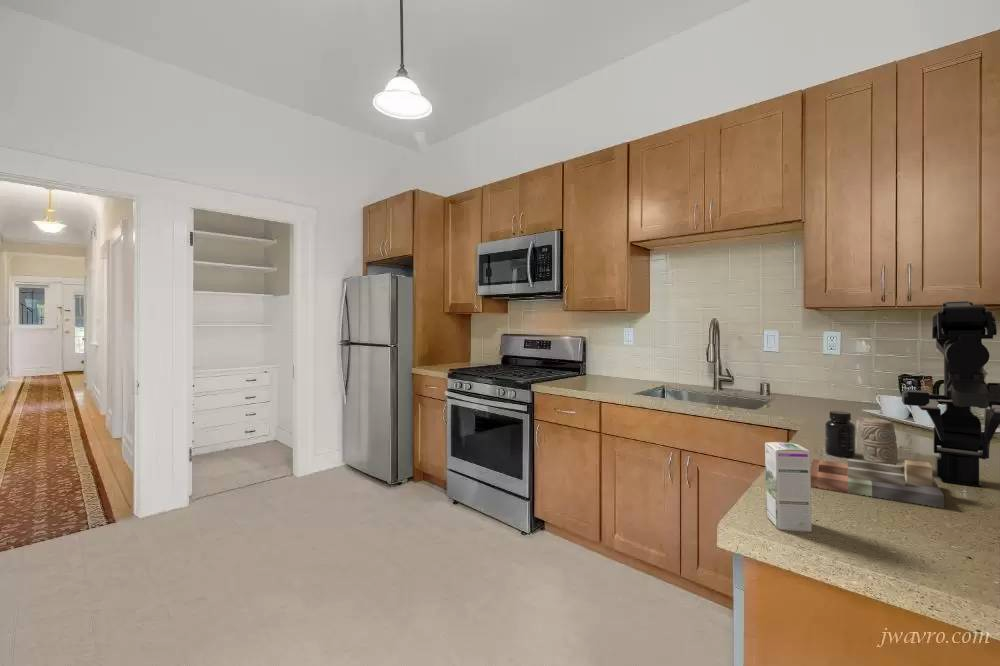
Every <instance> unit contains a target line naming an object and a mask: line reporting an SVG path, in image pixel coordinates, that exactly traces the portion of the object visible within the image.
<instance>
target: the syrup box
mask: <svg viewBox="0 0 1000 666" xmlns="http://www.w3.org/2000/svg"><path fill="white" fill-rule="evenodd" d="M764 448H765V449H764V454H765V455H764V459H765V461H764V462H765V463H764V466H765V467H764V468H765V506H766V507H765V510H766V512H765V513H766V515H765V516H766V518H767V519H768V520H769V521H770V523H772V524H773V525H774V526H775V527H774V528H776V529H777V530H781V531H787V532H788V531H789V532H790V531H791V532H806V533H807V532H809V533H810V532H811V533H812V527H813V526H812V523H813V522H812V487H811V477H810V470H811V451H810V450H809V449H806V448H805V447H803V446H801V445H800V444H798V443H795V442H786V441H785V442H784V441H774V442H772V441H769V442H767V441H765V443H764Z"/></svg>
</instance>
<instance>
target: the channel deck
mask: <svg viewBox="0 0 1000 666" xmlns="http://www.w3.org/2000/svg"><path fill="white" fill-rule="evenodd" d="M810 477H811V488H815V487H818V488H817V489H821V488H824V489H823V490H827V489H829V491H833V490H835V491H834V492H839V491H841V492H840V493H845V492H846V493H845V494H851V493H852V494H851V495H857V494H858V496H863V495H865V496H864V497H869V496H871V497H870V498H875V497H877V499H881V498H884V499H883V500H887V499H890V500H889V501H894V500H897V501H896V502H900V501H902V503H906V502H909V503H908V504H912V503H915V504H914V505H918V504H922V505H921V506H924V505H928V506H927V507H930V506H933V507H932V508H936V507H939V508H938V509H942V508H943V509H944V510H945V495H944V493H943V491H942V490H941V488H940V487H939V486H938V483H937V482H936V480H935V479H934V477H933V476H932V486H925V485H918V484H911V483H907V482H906V480H905V470H904V471H903V470H902V466H901V465H897V464H896V465H891V464H883V463H875V462H868V461H865V460H860V459H859V460H858V459H851V458H847V462H846V463H844V462H838V461H831V460H830V461H829V460H823V459H815V458H814V459H813V458H812V460H811V464H810Z"/></svg>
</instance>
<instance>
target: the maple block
mask: <svg viewBox="0 0 1000 666" xmlns="http://www.w3.org/2000/svg"><path fill="white" fill-rule="evenodd" d="M904 471H905V480H906V482H907V483H911V484H918V485H925V486H932V477H933V466H932V464H931V463H930V462H925V461H919V460H918V461H915V460H911V459H910V460H907V459H904Z"/></svg>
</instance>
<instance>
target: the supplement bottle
mask: <svg viewBox="0 0 1000 666" xmlns="http://www.w3.org/2000/svg"><path fill="white" fill-rule="evenodd" d="M828 417H829V420H827V421H826V422H825V427H824V428H825V429H824V432H825V433H824V434H825V437H824V438H825V439H824V441H825V444H824V445H825V446H824V447H825V448H824V449H825V450H824V452H825V453H826V454H827V455H830V456H833V457H837V458H846V459H851V458H854V457H855V456H856V425H855V424H854V423H853V422H851V420H852V415H851V412H848V411H843V410H830V411H829V416H828Z"/></svg>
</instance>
